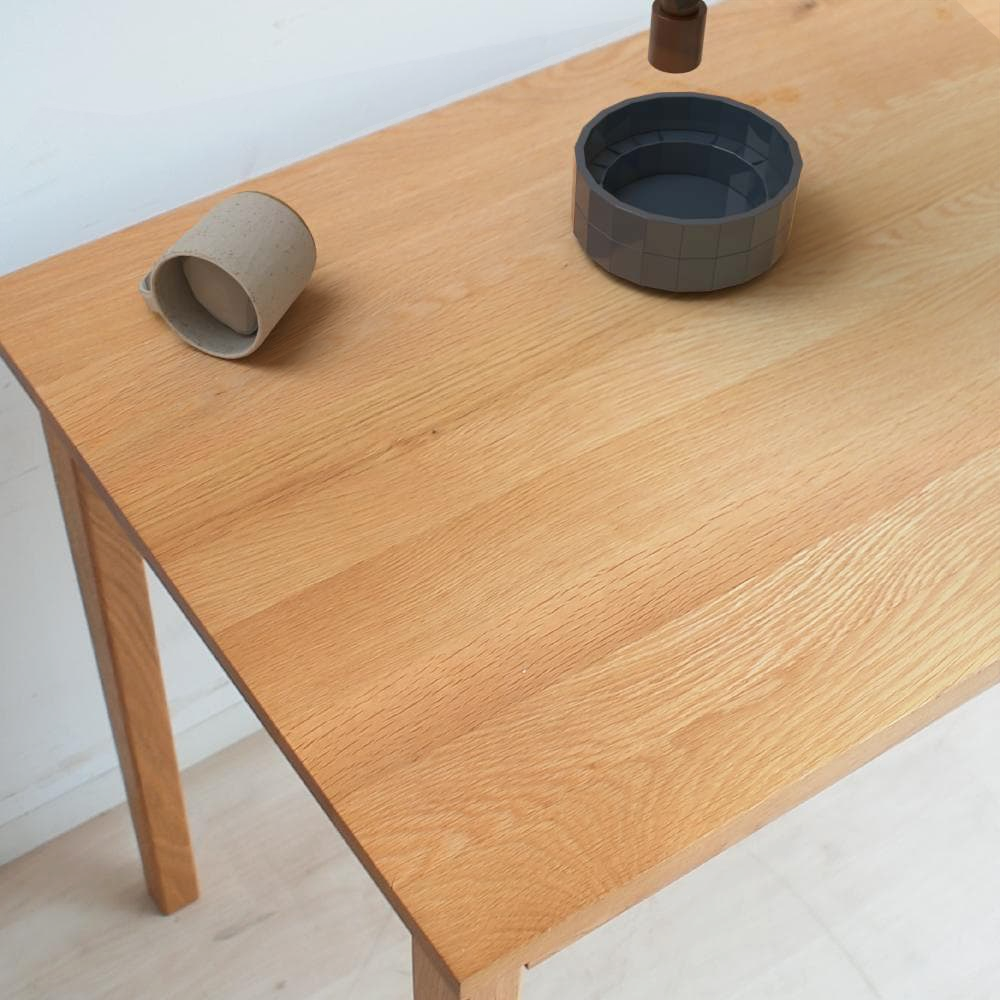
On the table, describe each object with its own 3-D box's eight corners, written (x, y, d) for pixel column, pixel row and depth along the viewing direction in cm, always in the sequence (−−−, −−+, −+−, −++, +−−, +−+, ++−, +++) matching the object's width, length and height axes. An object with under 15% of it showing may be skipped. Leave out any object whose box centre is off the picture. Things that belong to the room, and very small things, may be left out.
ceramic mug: (330, 290, 91) (317, 189, 85) (270, 373, 86) (251, 271, 80) (184, 254, 94) (161, 153, 88) (117, 332, 89) (88, 231, 83)
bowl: (729, 150, 101) (739, 74, 97) (826, 272, 92) (843, 195, 88) (540, 192, 98) (542, 115, 94) (622, 322, 89) (628, 245, 85)
